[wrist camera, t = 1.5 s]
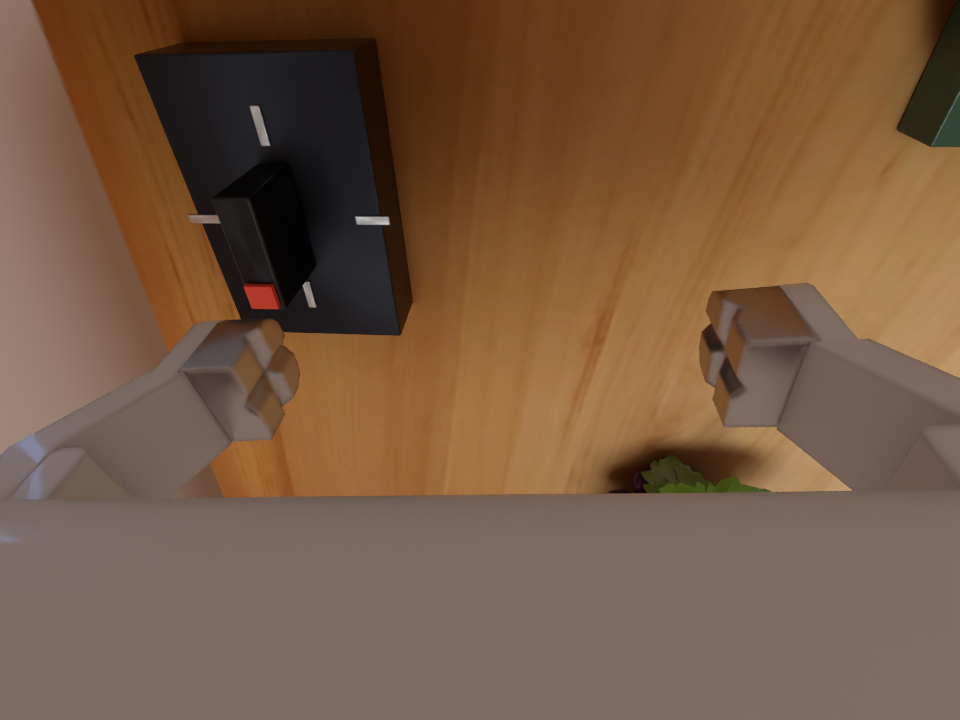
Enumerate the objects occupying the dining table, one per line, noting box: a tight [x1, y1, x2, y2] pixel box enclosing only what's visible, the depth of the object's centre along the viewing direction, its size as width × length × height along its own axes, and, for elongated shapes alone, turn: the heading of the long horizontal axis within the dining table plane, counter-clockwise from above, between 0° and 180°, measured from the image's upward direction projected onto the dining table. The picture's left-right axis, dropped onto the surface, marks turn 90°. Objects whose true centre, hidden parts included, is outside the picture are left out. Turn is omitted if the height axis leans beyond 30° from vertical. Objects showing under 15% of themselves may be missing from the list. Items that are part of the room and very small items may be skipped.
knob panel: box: [134, 38, 412, 335], centre depth 22 cm, size 12×9×3 cm
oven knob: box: [212, 165, 316, 309], centre depth 19 cm, size 4×1×4 cm, turn 2°
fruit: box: [609, 455, 771, 494], centre depth 31 cm, size 10×11×15 cm
